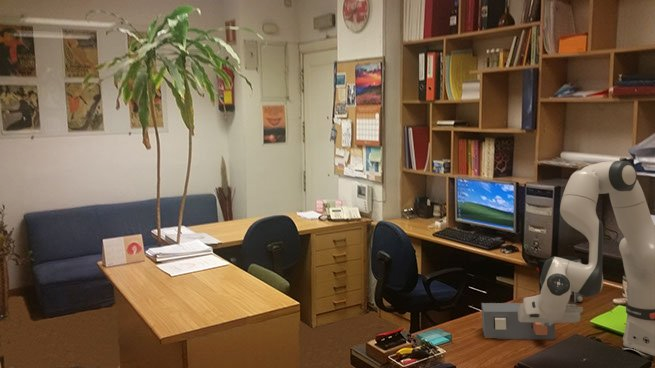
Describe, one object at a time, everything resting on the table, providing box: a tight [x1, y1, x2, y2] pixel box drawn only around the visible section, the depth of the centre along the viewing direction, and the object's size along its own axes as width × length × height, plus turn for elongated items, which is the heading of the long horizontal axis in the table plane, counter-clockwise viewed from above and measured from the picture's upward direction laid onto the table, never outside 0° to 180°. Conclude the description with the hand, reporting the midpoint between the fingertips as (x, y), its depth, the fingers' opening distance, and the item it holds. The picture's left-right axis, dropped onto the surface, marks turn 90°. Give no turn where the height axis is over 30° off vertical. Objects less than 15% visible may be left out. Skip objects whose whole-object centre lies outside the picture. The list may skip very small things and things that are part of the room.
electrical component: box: [536, 255, 584, 303], centre depth 250 cm, size 18×10×20 cm, turn 105°
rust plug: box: [532, 322, 548, 335], centre depth 208 cm, size 11×4×4 cm, turn 169°
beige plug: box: [494, 317, 506, 330], centre depth 216 cm, size 11×4×4 cm, turn 169°
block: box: [481, 302, 556, 340], centre depth 217 cm, size 10×26×11 cm, turn 79°
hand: (545, 324), depth 195 cm, fingers closed
